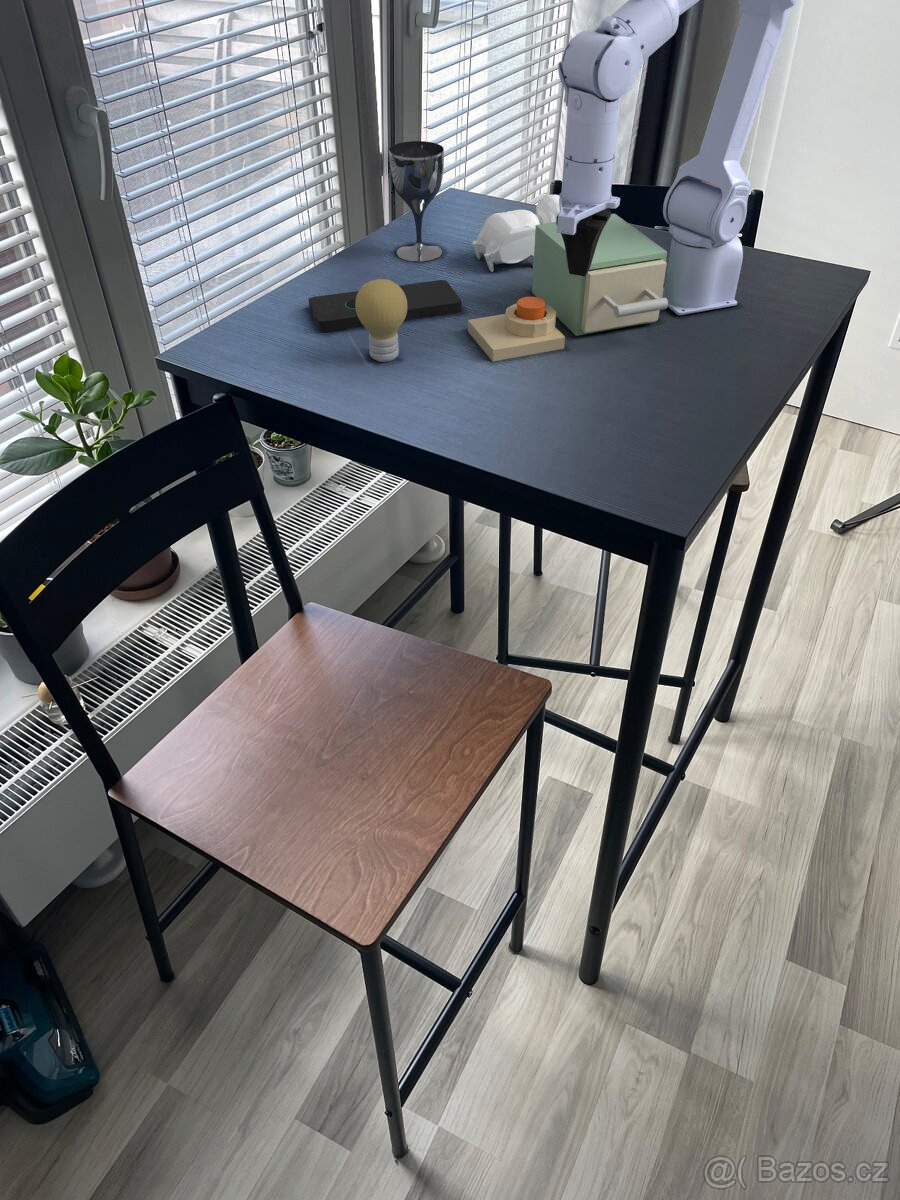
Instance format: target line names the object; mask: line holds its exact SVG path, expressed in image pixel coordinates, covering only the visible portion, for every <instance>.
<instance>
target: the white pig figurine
mask: <svg viewBox="0 0 900 1200" xmlns="http://www.w3.org/2000/svg"><path fill="white" fill-rule="evenodd" d="M559 195H560V194H547V195H545V196H543V197H542V198H541V199H540V200H539V202H538V203H537V204H536V206H535V213H534V212H532V211H531V210H527V209H514V210H507V211H506V212H504V211H503V212H496V213H492V214H491V215H490V216H488V217H487V219H485V221H484V223H483V225H482V227H481V229H480V231H479V233H478V234H477V237H476V240H473V241H471V244H472V246H473V248H474V252H475V255H476V258H477V260H481V255H483V256H484V259H485V262H486V264H487V266H488V270H489V271H490V272H491V273H493V272H494V271H495V269H494V265H500V264H509V265H510V264H517V263H520V262H522V261H524V260H525V259H527V258H529V257H530V256H531V257H532V258H534V246H535V229H536V225H540V224H547V223H554V222H556V218H557V215H558V214H559V213H560V207H559Z"/></svg>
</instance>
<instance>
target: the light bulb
mask: <svg viewBox="0 0 900 1200" xmlns="http://www.w3.org/2000/svg"><path fill="white" fill-rule="evenodd" d="M357 291H358V293H357V296H356V304H355V308H356V313H357V316H358V318H359V320H360V321H361V323H362V324H363V326H364V328H365V329H366V330H367V331H368V332H369V334H368V347H369V355H370V358H372V359H373V360H375V361H377V362H380V363H381V362H382V363H387V362H391V361H393V360H395V359H396V358H397V357H398V356H399V354H400V348H399V345H400V344H399V334H398V332H397V331H398V330H399V328H401V326H402V324H403V323H404V319H405V317H406V314H407V307H408V305H407V299H406V296H405V293H404V292H403V290H402V289H401V288H400V287H399V284H397V283H396V282H395V281H392V280H391V279H386V278H376V279H373V280H370V281H368V282H366V283H364V284H363V285H362V286H360V288H359V289H358V290H357Z"/></svg>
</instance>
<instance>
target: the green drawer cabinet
mask: <svg viewBox="0 0 900 1200" xmlns="http://www.w3.org/2000/svg"><path fill="white" fill-rule="evenodd" d="M667 256H668V251H667V250H666V249H664V248H663V247H661V246H660V245H659V244H657V243H656V242H655V241H653V240H652V239H651V238H649V237H648V236H646V235H645V234H644V233H642V232H641V231H640V230H638V229H637V228H635V227H634V226H632V225H631V224H630V223H628V222H627V221H626V220H624V219H623V218H622V217H621V216H619V215H618V214H616V213H611V216H610V218H609V220H608V221H607V223H606V225H605V227H604V229H603V231H602V233H601V235H600V238H599V240H598V243H597V246H596V249H595V253H594V256H593V260H592V263H591V266H590V269H589V270H592V269H598V268H604V267H611V266H617V265H623V264H629V263H636V262H642V261H648V260H652V261H656V260H664V261H665V262H666V263H667ZM585 281H586V276H579V275H573V274H569V269H568V263H567V256H566V250H565V245H564V241H563V238H562V235H561V233H557V224H556V222H554V223H547V224H540V225H536V229H535V246H534V257H533V266H532V283H531V287H532V288H531V293H532V294H533V295H534V297H537V298H541V299H542V300H544V301H545V305H548V306H550V307H552V308H553V309H554V310H555V311H556V319H558V320H559V321H560V322H561V324H563V325H564V326H565V327H566V328H567V329H568V330H569V331H571V333H572V334H573V335H575V336H576V337H577V336H583V335H588V334H589V335H590V334H594V333H600V332H605V331H611V330H617V329H621V328H629V327H634V326H639V325H645V324H651V323H656V322H657V321H658V320H655V321H650V322H644V323H638V324H633V325H627V326H621V327H616V328H610V329H604V330H599V331H593V332H588V333H584V332H583V331H582V330H581V323H582V312H583V302H584V291H585Z"/></svg>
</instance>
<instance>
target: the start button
mask: <svg viewBox="0 0 900 1200" xmlns="http://www.w3.org/2000/svg"><path fill="white" fill-rule="evenodd" d="M516 304H517V317H518V318H521V319H524V320H538V319H542V318H543V317H544V313H545V301H544V300H542V299H541V298H537V297H536V296H523V297H521V298H519V299H518V300H517V301H516Z"/></svg>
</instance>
